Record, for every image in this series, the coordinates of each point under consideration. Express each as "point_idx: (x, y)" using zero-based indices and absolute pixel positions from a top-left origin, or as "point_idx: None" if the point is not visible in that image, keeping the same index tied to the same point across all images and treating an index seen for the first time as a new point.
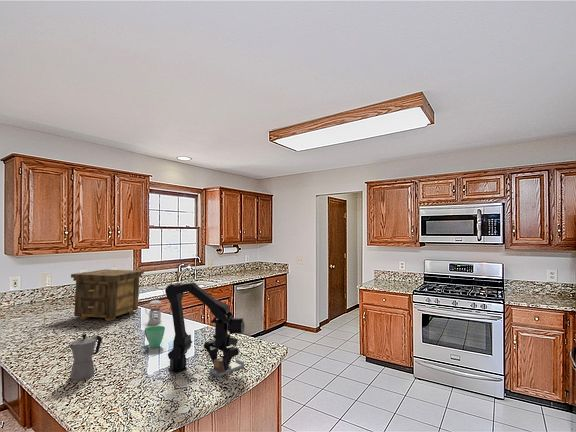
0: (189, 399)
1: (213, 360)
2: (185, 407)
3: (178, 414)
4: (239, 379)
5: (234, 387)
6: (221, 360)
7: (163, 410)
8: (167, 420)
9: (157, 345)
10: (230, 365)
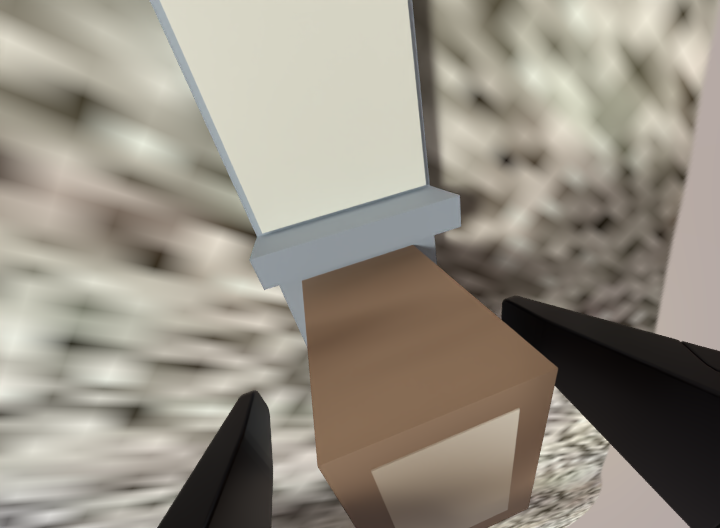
0: (544, 471)
1: (265, 519)
2: (576, 475)
3: (589, 485)
4: (623, 186)
5: (658, 281)
6: (515, 479)
7: (534, 518)
8: (586, 500)
9: None
10: (277, 122)
